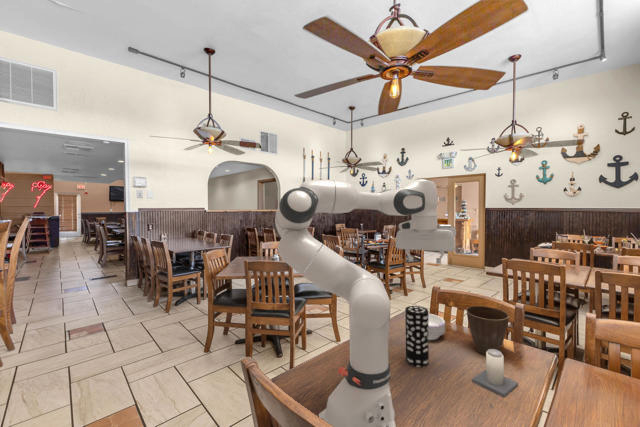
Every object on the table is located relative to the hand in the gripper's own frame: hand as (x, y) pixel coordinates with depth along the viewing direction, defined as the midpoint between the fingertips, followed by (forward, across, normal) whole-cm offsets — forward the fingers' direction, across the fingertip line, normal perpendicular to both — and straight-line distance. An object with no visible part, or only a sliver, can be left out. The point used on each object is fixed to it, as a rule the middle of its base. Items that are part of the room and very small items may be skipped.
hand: (424, 262), depth 106 cm
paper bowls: (+39, +3, -29) cm, 49 cm away
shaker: (+38, -22, 0) cm, 44 cm away
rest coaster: (+39, -22, -1) cm, 45 cm away
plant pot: (+39, -21, -24) cm, 51 cm away
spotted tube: (+39, +4, -4) cm, 40 cm away
